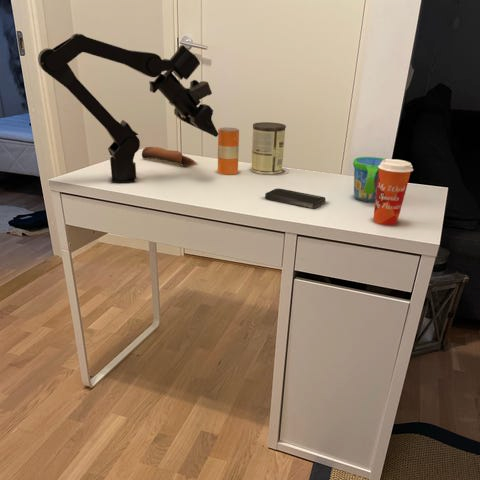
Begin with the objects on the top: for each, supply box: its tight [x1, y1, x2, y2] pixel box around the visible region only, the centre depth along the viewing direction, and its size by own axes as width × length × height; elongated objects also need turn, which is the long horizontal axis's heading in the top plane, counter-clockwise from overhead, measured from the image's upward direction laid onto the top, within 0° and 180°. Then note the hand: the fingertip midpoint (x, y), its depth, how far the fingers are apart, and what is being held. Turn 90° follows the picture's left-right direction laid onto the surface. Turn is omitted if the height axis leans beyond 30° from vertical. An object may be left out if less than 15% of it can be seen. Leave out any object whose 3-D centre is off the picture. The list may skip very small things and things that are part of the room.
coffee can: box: [250, 121, 287, 175], centre depth 155 cm, size 10×10×14 cm
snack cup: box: [352, 156, 387, 203], centre depth 132 cm, size 16×10×10 cm
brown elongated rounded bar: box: [141, 146, 197, 168], centre depth 164 cm, size 18×7×7 cm, turn 56°
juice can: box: [217, 126, 240, 176], centre depth 151 cm, size 6×6×13 cm
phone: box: [264, 188, 326, 209], centre depth 130 cm, size 8×1×15 cm
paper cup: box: [372, 158, 414, 226], centre depth 114 cm, size 8×8×14 cm
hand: (211, 132), depth 146 cm, fingers open, 9 cm apart
